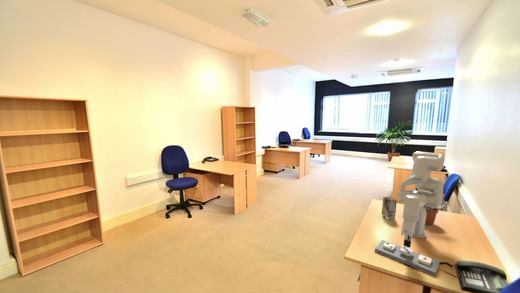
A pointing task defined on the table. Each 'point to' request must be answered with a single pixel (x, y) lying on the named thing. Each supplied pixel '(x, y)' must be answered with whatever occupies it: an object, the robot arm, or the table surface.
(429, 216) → the potted plant
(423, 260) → the tile
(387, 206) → the coffee box
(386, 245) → the tile
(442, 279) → the table surface
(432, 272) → the keypad board
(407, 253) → the white small block
